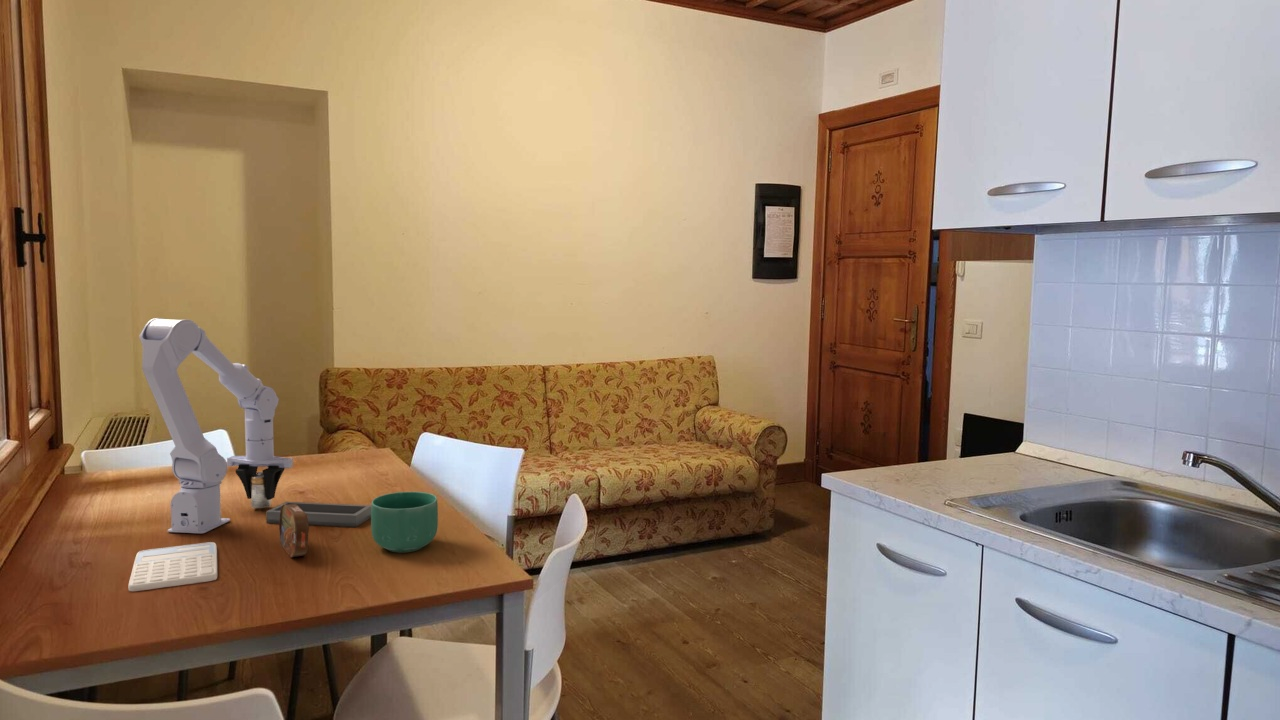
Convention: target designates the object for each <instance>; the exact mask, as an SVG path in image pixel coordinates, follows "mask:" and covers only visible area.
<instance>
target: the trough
mask: <svg viewBox="0 0 1280 720" xmlns="http://www.w3.org/2000/svg"><path fill="white" fill-rule="evenodd" d="M292 504H296V505H298V506H299V507H300V508H301V509H302V510H303V511H304V512H305V513H306V515H307V518H308V523H309V526H321V527H323V526H324V527H325V526H326V527H342V528H343V527H345V528H346V527H347V528H357V527H359V526H361V525H362V524H363V523H366V521H368V520H369V519H370V520H371V504H370V505H367V504H347V503H346V504H343V503H326V502H324V503H322V502H321V503H320V502H303V501H301V502H300V501H284V502H282V503H281V504H278V505H277V506H274V507H273V508H271V509H269V510H266V512H265V514H266V517H265V518H266V519H265V520H266V524H279V520H280V511H281V507H282V505H292Z"/></svg>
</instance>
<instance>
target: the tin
mask: <svg viewBox="0 0 1280 720" xmlns="http://www.w3.org/2000/svg"><path fill="white" fill-rule="evenodd" d="M278 526H279V528H278V529H279V530H278V531H279V542H280V544H281V547H282V549H284V551H285V552H286V554H287V555H288V557H289V558H291V559H292V558H294V557H295V558H296V557H303V556H306V554H307V553H308V551H309V530H310V525H309V523H308V518H307V515H306V513H305V512H304V511H303V510H302V509H301V508H300V507H299V506H298V505H296V504H292V505H282V507H281V511H280V520H279V525H278Z"/></svg>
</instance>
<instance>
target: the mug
mask: <svg viewBox="0 0 1280 720" xmlns="http://www.w3.org/2000/svg"><path fill="white" fill-rule="evenodd" d="M370 505H371V518H370V524H371V526H370V528H371V535H372V538H373V540H374V542H375V543H376V544H377V545H378V546H380V547H381V548H383V549H386V550H387V551H390V552H393V553H411V552H416V551H418V550H421V549H422V548H424V547H425V546H427V545H428V544H430V543H432V541H433V540H434V539H435V537H436V536H437V535H436V534H437V532H438V526H439V513H438V512H439V511H438V510H439V508H438V498H437V496H436V495H435V494H433V493H429V492H423V491H401V492H399V491H398V492H393V493H386V494H382V495H380V496H377V497H375V498H374V499H373V500H372V501H371V504H370Z"/></svg>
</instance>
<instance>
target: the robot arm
mask: <svg viewBox="0 0 1280 720" xmlns="http://www.w3.org/2000/svg"><path fill="white" fill-rule="evenodd" d="M138 338H139V340H140V342H141V345H142V361H141V364H142V365H141V366H142V367H141V368H142V369H141V370H142V372H143V374H144V375H143V376H144V377H145V379H146V381H147V383H148V386H149V389H150V391H151V393H152V396H153V398H154V400H155V403H156V405H157V407H158V410H159V411H160V414H161V416H162V420H163V421H164V423H165V425H166V428H167V430H168V433H169V435H170V437H171V440H172V442H173V444H174V448H172V450H171V451H170V452H169V455H170V457H171V460H172V463H171V465H172V466H171V470H172V473H173V475H174V476H175V478H176V479H178V484H179V485H180V488H179V491H178V492H176V493H175V494H174V495H173V496H172V498H171V500H170V523H171V525H170V526H171V527H170V528H169V529H167V533H182V534H183V533H184V534H185V533H187V534H205V533H208V532H210V531H212V530H213V529H216V528H218V527H221V526H222V525H224V524H226V523H228V522H230V521H231V518H228V517H226V518H225V517H222V511H221V510H222V507H221V484H222V483H223V482H222V481H223V480H224V478H225V477H226V476H227V472H228V467H234V466H235V467H236V466H237V468H236V469H235V470H234V471H235V474H236V476H237V477H238V478H239V480H240V481H241V483H242V486H243V488H244V491H245V494H246V497H247V499H248V500H249V499H250V500H251V482H250V476H251V475H253V474H257V473H258V467H262V468H263V467H264V468H265V469H262V471H261V472H263V475H264V479H265V484H266V498H267V500H270V499H271V500H272V499H274V498H275V495H276V493H277V492H276V491H277V487H278V484H279V481H280V479H281V477H282V475H283V473H284V471H285V469H286V470H287V469H291V468H293V467H294V460H293V458H290V457H284V456H275V452H274V449H275V448H274V417H275V416H276V415H275V413H276V408H277V407H278V404H279V401H280V398H279V397H278V396H277V393H276V392H275V390H274V389H273V388H272V387H270V386H265V385H264V384H263V381H262V380H261V378H257V377H256V376H255V375H253V374H252V373H251V372H250V371H249V369H250V368H249V366H248V365H246V364H241V363H240V362H234V363H233V362H232V361H230V359H228V357H227V356H226V355H225V354H224V353H223V351H221V350H220V349H219V347H217V346H216V345H215V343H214V342H213V341H211V340H210V339H209V337H208V336H207V333H206V331H205V330H204V329H203V328H202V327H199V325H198V324H197V323H196V322H195V321H194V320H191V319H186V318H185V319H170V318H169V319H168V318H161V317H156V318H155V317H154V318H152V319H150V320H149V321H147V322H146V323H145V325H144V327H143V329H142V330H141V332H140V334H139V335H138ZM191 354H193V355H194V356H195V357H196V358H198V359H199V360H201V361H202V362H203V363H204V364H205V365H207V366H208V367H210V369H212V371H214V372H216V373H217V374H218V381H219V383H220V385H222V386H223V387H224V388H226V389H227V390H228V391H229V392H230V393H231V394H232V395H233V396H235V398H236V399H237V403H238V406H239V407H240V408H242V409H244V434H245V455H231V456H228V457H227V458H226V459H225V457H224V456H222V455H221V454H220V453H219V452H218V449H217V447H216V445H214V444H213V443H212V442H210V441H209V440H208V439H206V437H204V434H203V431H202V429H201V426H200V424H199V421H198V420H197V416H196V414H195V412H194V409H193V407H192V405H191V403H190V400H189V397H188V394H187V393H186V390H185V387H184V385H183V383H182V380H181V379H180V375H179V374H178V368H179V366H180V365H181V364H182V363H183V362H184V361H185V359H187V358H188V356H189V355H191Z"/></svg>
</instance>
